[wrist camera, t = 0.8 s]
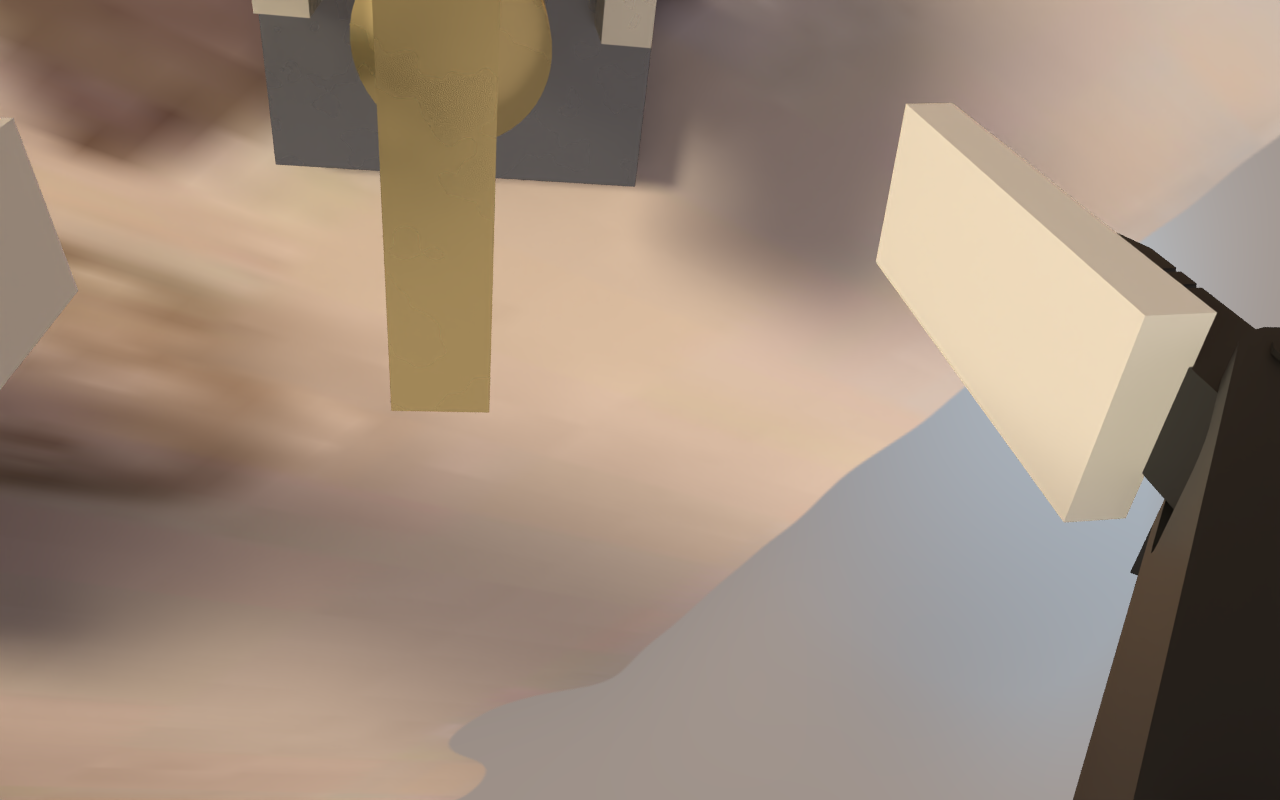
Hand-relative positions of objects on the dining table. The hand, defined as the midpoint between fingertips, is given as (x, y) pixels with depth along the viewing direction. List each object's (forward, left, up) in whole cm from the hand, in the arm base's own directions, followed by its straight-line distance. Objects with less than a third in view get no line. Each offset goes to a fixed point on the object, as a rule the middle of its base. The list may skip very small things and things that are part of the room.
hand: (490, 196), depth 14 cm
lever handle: (-1, -2, -22) cm, 22 cm away
